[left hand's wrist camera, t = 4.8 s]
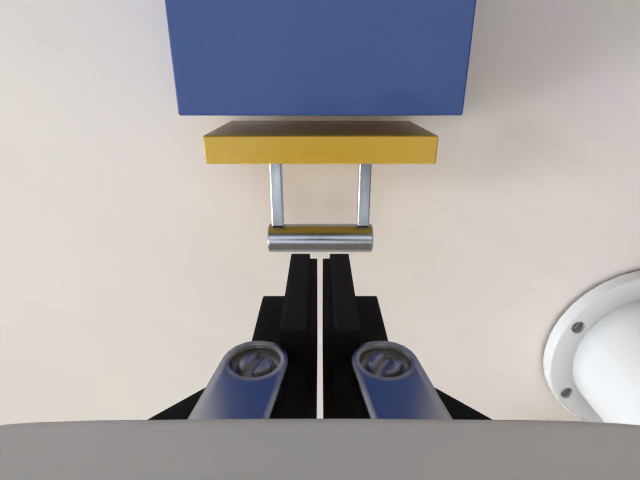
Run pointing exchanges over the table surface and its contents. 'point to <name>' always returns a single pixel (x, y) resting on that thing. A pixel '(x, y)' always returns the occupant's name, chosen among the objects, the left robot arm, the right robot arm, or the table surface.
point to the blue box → (320, 56)
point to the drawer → (320, 148)
